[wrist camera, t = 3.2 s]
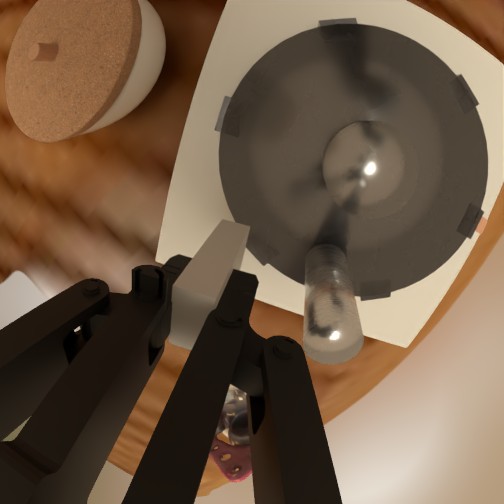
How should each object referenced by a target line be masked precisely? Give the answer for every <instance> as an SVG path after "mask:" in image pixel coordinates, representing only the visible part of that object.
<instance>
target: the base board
mask: <svg viewBox="0 0 504 504" xmlns="http://www.w3.org/2000/svg"><path fill="white" fill-rule="evenodd" d="M343 18H356V20H357V24H365V25H372V26H378V27H382V28H385V29H388V30H392V31H395V32H398V33H400V34H402V35H404V36H407V37H409V38H411V39H413V40H415V41H416V42H418V43H420V44H421V45H423V46H424V47H426V48H428V49H429V50H430V51H432V52H433V53H434V54H435V55H437V56H438V57H439V58H440V59H441V60H442V61H444V62H445V63H446V64H447V65H448V67H449V68H450V69H451V70H452V71H453V72H454V73H455V74H456V75H459V74H462V76H463V77H464V79H465V81H466V82H467V84H468V85H469V87H470V89H471V90H472V92H473V94H474V95H475V97H476V99H477V100H478V102H479V105H477V106H476V108H477V111H478V113H479V116H480V119H481V121H482V124H483V128H484V132H485V137H486V141H487V150H488V179H487V186H486V193H485V196H484V200H483V204H482V207H481V210H483V211H484V214H483V216H482V218H481V220H480V222H479V224H478V226H477V228H476V230H475V232H474V234H473V236H472V238H471V239H469V238H468V237H467V238H466V240H465V241H464V242H463V244H462V245H461V246H460V248H459V249H458V250H457V251H456V252H455V254H454V255H453V256H452V257H451V258H450V259H449V260H448V261H447V262H446V263H445V264H443V265H442V266H441V267H440V268H438V269H437V270H436V271H435V272H433V273H432V274H430V275H429V276H427V277H425V278H424V279H422V280H421V281H419V282H417V283H414V284H412V285H410V286H408V287H406V288H403V289H400V290H397V291H394V292H391V297H388V298H381V299H374V300H367V301H361V300H360V297H358V296H355V299H356V303H357V308H358V313H359V317H360V322H361V327H362V332H363V335H365V336H368V337H371V338H375V339H378V340H381V341H385V342H388V343H391V344H395V345H398V346H401V347H405V348H407V347H408V346H409V344H410V343H411V342H412V340H413V339H414V338H415V337H416V335H417V334H418V333H419V331H420V330H421V328H422V327H423V326H424V324H425V323H426V322H427V320H428V319H429V317H430V316H431V314H432V313H433V312H434V310H435V309H436V307H437V306H438V304H439V303H440V301H441V300H442V298H443V297H444V295H445V294H446V292H447V291H448V289H449V287H450V286H451V284H452V283H453V281H454V279H455V278H456V276H457V274H458V273H459V271H460V269H461V268H462V266H463V264H464V262H465V261H466V259H467V257H468V255H469V254H470V252H471V250H472V248H473V246H474V244H475V242H476V241H477V239H478V237H479V235H480V234H482V232H483V230H484V228H485V226H486V224H487V222H488V220H487V218H488V216H489V214H490V212H491V210H492V208H493V205H494V203H495V201H496V199H497V196H498V194H499V192H500V189H501V187H502V184H503V182H504V65H503V64H502V63H501V62H500V61H498V60H497V59H496V58H495V57H494V56H492V55H491V54H490V53H488V52H487V51H486V50H485V49H483V48H482V47H481V46H479V45H478V44H477V43H475V42H474V41H473V40H471V39H470V38H468V37H467V36H465V35H464V34H463V33H461V32H460V31H458V30H457V29H455V28H454V27H452V26H450V25H449V24H447V23H446V22H444V21H442V20H441V19H439V18H437V17H436V16H434V15H432V14H431V13H429V12H427V11H425V10H423V9H422V8H420V7H418V6H416V5H414V4H412V3H410V2H408V1H406V0H227V3H226V5H225V8H224V10H223V13H222V15H221V18H220V20H219V23H218V26H217V28H216V31H215V34H214V36H213V39H212V42H211V45H210V47H209V50H208V53H207V56H206V59H205V62H204V65H203V68H202V71H201V74H200V77H199V80H198V83H197V86H196V90H195V93H194V96H193V99H192V103H191V106H190V110H189V113H188V117H187V120H186V124H185V127H184V131H183V135H182V139H181V142H180V146H179V150H178V154H177V158H176V162H175V166H174V171H173V175H172V179H171V183H170V188H169V193H168V197H167V202H166V207H165V212H164V216H163V222H162V227H161V232H160V237H159V243H158V249H157V255H156V261H157V262H159V263H162V264H164V265H165V263H166V262H167V261H168V259H169V258H171V257H173V256H175V255H178V254H180V255H184V256H187V257H191V258H193V257H194V256H195V254H196V253H197V252H198V250H199V249H200V248H201V246H202V245H203V244H204V242H205V241H206V240H207V238H208V237H209V236H210V234H211V233H212V232H213V230H214V229H215V228H216V226H217V225H218V224H219V223H220V221H221V220H222V219H224V220H228V221H232V222H235V221H234V218H233V216H232V214H231V212H230V210H229V208H228V205H227V202H226V199H225V195H224V192H223V189H222V183H221V178H220V172H219V141H220V132H218V131H215V130H214V129H215V126H216V123H217V119H218V116H219V113H220V110H221V107H222V103H223V100H224V97H225V96H228V97H232V95H233V94H234V92H235V90H236V88H237V87H238V85H239V83H240V82H241V80H242V79H243V77H244V76H245V75H246V73H247V72H248V71H249V70H250V68H251V67H252V66H253V65H254V64H255V63H256V62H257V61H258V60H259V59H260V58H261V57H262V56H263V55H264V54H265V53H267V52H268V51H269V50H271V49H272V48H273V47H275V46H276V45H278V44H279V43H281V42H282V41H284V40H286V39H288V38H290V37H292V36H294V35H296V34H298V33H300V32H303V31H306V30H310V29H313V28H316V27H318V22H319V21H320V20H330V19H343ZM240 271H244V272H247V273H251V274H255V275H256V276H257V279H258V281H259V284H258V288H257V291H256V295H255V299H257V300H260V301H263V302H266V303H269V304H271V305H274V306H277V307H280V308H283V309H286V310H289V311H292V312H294V313H297V314H300V315H303V316H304V300H305V286H304V285H302V284H300V283H297V282H296V281H294V280H292V279H290V278H289V277H287V276H285V275H283V274H282V273H280V272H279V271H278V270H276V269H275V268H274V267H272V266H271V265H270V264H266V265H265V266H263V265H262V264H261V263H260V262H259V261H258V260H257V259H256V258H255V257H254V256H253V255H252V254H251V252H250V251H249V250H248V249H247V248H246V247H245V252H244V256H243V260H242V264H241V269H240Z"/></svg>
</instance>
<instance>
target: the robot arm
mask: <svg viewBox="0 0 504 504" xmlns="http://www.w3.org/2000/svg"><path fill="white" fill-rule="evenodd" d="M249 230H250V226H247V225H243V224H239V223H235V222H232V221H228V220H224V219H222V220H221V221H220V223H219V224H218V225H217V226H216V228H215V229H214V230H213V232H212V233H211V234H210V236H209V237H208V238H207V240H206V241H205V242H204V244H203V245H202V246H201V248H200V249H199V250H198V252H197V253H196V254H195V256H194V257H193V258H191V257H187V256H184V255H180V254H178V255H175V256H173V257H171V258H169V259H168V261H167V262H166V263H165V265H163V266H162V267H161V268H160V267H158V266H153V265H141V266H138V267H135V268H134V269H132V290H131V291H130V292H129V293H128V294H121V293H112V292H109V287H108V284H107V283H105V282H104V281H102V280H100V279H94V278H91V279H85V280H82V281H80V282H78V283H76V284H75V285H73V286H71V287H70V288H68V289H66V290H64V291H63V292H61V293H59V294H58V295H56V296H54V297H53V298H51V299H49V300H48V301H46V302H44V303H43V304H41V305H39V306H38V307H36V308H34V309H33V310H31V311H30V312H28V313H26V314H25V315H23V316H21V317H20V318H18V319H17V320H15V321H14V322H12V323H10V324H9V325H7V326H6V327H4V328H3V329H1V330H0V504H87V500H88V497H89V494H90V492H91V490H92V488H93V486H94V484H95V482H96V480H97V478H98V476H99V474H100V472H101V470H102V468H103V466H104V464H105V462H106V460H107V458H108V456H109V454H110V452H111V450H112V448H113V446H114V444H115V442H116V440H117V438H118V436H119V435H120V433H121V431H122V429H123V427H124V425H125V423H126V421H127V419H128V417H129V415H130V413H131V412H132V410H133V408H134V406H135V404H136V402H137V400H138V398H139V397H140V395H141V393H142V391H143V389H144V387H145V385H146V383H147V382H148V380H149V378H150V376H151V374H152V372H153V371H154V369H155V367H156V365H157V363H158V361H159V360H160V358H161V356H162V354H163V352H164V347H165V340H166V338H167V337H168V335H169V343H170V344H173V345H176V346H179V347H182V348H185V349H188V350H191V352H190V354H189V357H188V359H187V361H186V363H185V365H184V367H183V369H182V372H181V374H180V376H179V378H178V380H177V382H176V385H175V387H174V389H173V391H172V393H171V395H170V398H169V400H168V402H167V404H166V406H165V408H164V411H163V413H162V415H161V417H160V419H159V422H158V424H157V426H156V428H155V430H154V433H153V435H152V437H151V439H150V441H149V444H148V446H147V448H146V450H145V452H144V455H143V457H142V459H141V461H140V464H139V466H138V468H137V470H136V473H135V475H134V477H133V479H132V482H131V484H130V486H129V488H128V491H127V493H126V495H125V497H124V500H123V501H122V503H121V504H194V502H195V498H196V495H197V492H198V489H199V486H200V482H201V479H202V476H203V473H204V470H205V466H206V463H207V460H208V457H209V453H210V450H211V447H212V443H213V440H214V437H215V434H216V430H217V427H218V424H219V420H220V417H221V414H222V410H223V407H224V404H225V400H226V397H227V393H228V390H229V387H230V384H231V385H233V386H234V387H236V388H238V389H240V390H241V391H243V392H245V393H246V402H247V415H248V428H249V441H250V453H251V464H252V476H253V486H254V498H255V504H342V500H341V496H340V492H339V487H338V483H337V479H336V475H335V471H334V467H333V463H332V458H331V454H330V450H329V446H328V442H327V438H326V434H325V430H324V426H323V422H322V418H321V414H320V411H319V407H318V403H317V399H316V395H315V391H314V388H313V384H312V380H311V376H310V373H309V369H308V365H307V361H306V358H305V354H304V351H303V349H302V347H301V345H300V344H298V343H297V342H296V341H295V340H293V339H291V338H289V337H285V336H272V337H270V338H268V339H265V338H263V337H261V336H260V335H258V334H257V333H256V332H255V331H254V330H253V329H252V328H251V326H250V324H249V317H250V313H251V310H252V306H253V302H254V299H255V295H256V291H257V288H258V284H259V281H258V279H257V276H256V275H255V274H251V273H247V272H244V271H240V269H241V264H242V260H243V256H244V252H245V247H246V243H247V239H248V234H249ZM79 326H80V330H79V331H76V332H74V330H75V329H76V328H77V327H79ZM31 415H32V416H31ZM30 416H31V417H30ZM29 417H30V418H29ZM28 418H29V420H28V421H27V423H26V424H25V426H24V427H23V429H22V430H21V431H20V433H19V434H18V436H17V437H16V438H15V439H14V440H13V441H2V440H3V439H4V438H6V437H7V436H8V435H9V434H10V433H11V432H13V431H14V430H15V429H16V428H17V427H18V426H20V425H21V424H22V423H23V422H24V421H25V420H27V419H28ZM1 441H2V442H1Z"/></svg>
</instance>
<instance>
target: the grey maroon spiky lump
mask: <svg viewBox="0 0 504 504" xmlns="http://www.w3.org/2000/svg"><path fill="white" fill-rule="evenodd" d="M221 432H222V433H223V434H224V435H225V436H227V437H228V438H229V441H230V444H231V445H229V444H227V443H225V442H223V441H221V440H219V439H218V438H217V437H216V436H217V434H219V433H221ZM216 446H218V448H217V449H215V450H214V448H215V447H216ZM225 454H231V457H230V458H229V459H227V460H224V459H223V456H224V455H225ZM209 456H210V457H211V458H212V459H213V460H214V462H215V463H216V464H217V466H218V467H219V469H220V470H221V472H222V473H223V474H224V475H225V477H226V478H227V479H228V480H229V481H231V482H240V481H242V480H244V479H245V478H246V477H248V476H249V475H250V474H251V473H252V464H251V453H250V441H249V428H248V415H247V402H246V393H245V392H243V391H241V390H240V389H238V388H236V387H234V386H233V385H231V384H230V387H229V390H228V393H227V397H226V400H225V404H224V407H223V410H222V414H221V417H220V420H219V424H218V427H217V430H216V434H215V437H214V440H213V443H212V447H211V450H210V453H209ZM236 468H239V470H238V471H235V469H236Z"/></svg>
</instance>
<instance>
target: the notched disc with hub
mask: <svg viewBox="0 0 504 504" xmlns="http://www.w3.org/2000/svg"><path fill="white" fill-rule="evenodd" d="M477 105H479V102H478V100H477V99H476V97H475V95H474V94H473V92H472V90H471V89H470V87H469V85H468V84H467V82H466V81H465V79H464V77H463V76H462V74H459V75H456V74H455V73H454V72H453V71H452V70H451V69H450V68H449V67H448V65H447V64H446V63H445V62H444V61H442V60H441V59H440V58H439V57H438V56H437V55H435V54H434V53H433V52H432V51H430V50H429V49H428V48H426V47H424V46H423V45H421V44H420V43H418V42H416V41H415V40H413V39H411V38H409V37H407V36H404V35H402V34H400V33H398V32H395V31H392V30H388V29H385V28H382V27H378V26H372V25H365V24H357V20H356V18H343V19H330V20H320V21H319V22H318V27H316V28H313V29H310V30H306V31H303V32H300V33H298V34H296V35H294V36H292V37H290V38H288V39H286V40H284V41H282V42H281V43H279V44H278V45H276V46H275V47H273V48H272V49H271V50H269V51H268V52H267V53H265V54H264V55H263V56H262V57H261V58H260V59H259V60H258V61H257V62H256V63H255V64H254V65H253V66H252V67H251V68H250V70H249V71H248V72H247V73H246V75H245V76H244V77H243V79H242V80H241V82H240V83H239V85H238V87H237V88H236V90H235V92H234V94H233V95H232V97H228V96H225V97H224V100H223V103H222V107H221V110H220V113H219V116H218V119H217V123H216V126H215V129H214V130H215V131H218V132H220V141H219V172H220V178H221V183H222V189H223V192H224V195H225V199H226V202H227V205H228V208H229V210H230V212H231V214H232V216H233V218H234V221H235V223H239V224H243V225H247V226H250V230H249V234H248V239H247V243H246V248H247V249H248V250H249V251H250V252H251V254H252V255H253V256H254V257H255V258H256V259H257V260H258V261H259V262H260V263H261V264H262V265H263V266H265V265H266V264H270V265H271V266H272V267H274V268H275V269H276V270H278V271H279V272H280V273H282V274H283V275H285V276H287V277H289V278H290V279H292V280H294V281H296V282H297V283H300V284H302V285H304V286H305V300H304V330H303V348H304V351H305V353H306V354H307V355H308V356H309V357H310V358H311V359H312V360H314V361H316V362H319V363H322V364H339V363H343V362H346V361H348V360H350V359H351V358H353V357H354V356H356V355H357V354H358V352H359V351H360V350H361V348H362V346H363V342H364V337H363V332H362V327H361V322H360V317H359V313H358V308H357V303H356V299H355V296H358V297H360V300H361V301H367V300H374V299H381V298H388V297H391V292H394V291H397V290H400V289H403V288H406V287H408V286H410V285H412V284H414V283H417V282H419V281H421V280H422V279H424V278H425V277H427V276H429V275H430V274H432V273H433V272H435V271H436V270H437V269H438V268H440V267H441V266H442V265H443V264H445V263H446V262H447V261H448V260H449V259H450V258H451V257H452V256H453V255H454V254H455V252H456V251H457V250H458V249H459V248H460V246H461V245H462V244H463V242H464V241H465V240H466V238H467V237H468V238H469V239H471V238H472V236H473V234H474V232H475V230H476V228H477V226H478V224H479V222H480V220H481V218H482V216H483V214H484V211H483V210H481V207H482V204H483V200H484V196H485V193H486V186H487V179H488V150H487V141H486V137H485V132H484V128H483V124H482V121H481V119H480V116H479V113H478V111H477V108H476V106H477Z"/></svg>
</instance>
